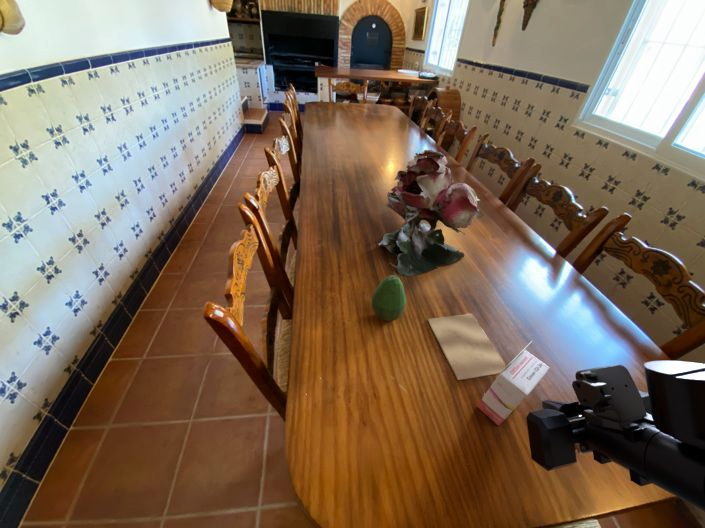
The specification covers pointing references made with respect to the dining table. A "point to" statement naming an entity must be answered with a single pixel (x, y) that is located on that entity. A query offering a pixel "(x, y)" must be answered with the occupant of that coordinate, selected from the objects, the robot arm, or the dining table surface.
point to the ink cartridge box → (512, 386)
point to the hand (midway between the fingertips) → (544, 403)
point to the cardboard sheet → (466, 347)
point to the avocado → (389, 298)
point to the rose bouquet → (428, 214)
